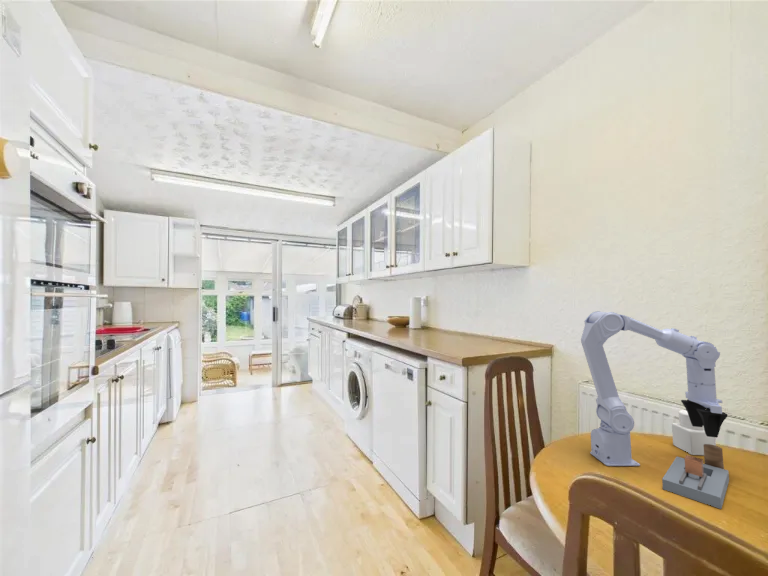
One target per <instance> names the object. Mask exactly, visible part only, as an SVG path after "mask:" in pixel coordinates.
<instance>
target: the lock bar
mask: <svg viewBox="0 0 768 576" xmlns="http://www.w3.org/2000/svg"><path fill="white" fill-rule="evenodd" d="M684 459H685V472H687V473H688V477H690V478H694V479H697V480H700V478H701V477H702V476H703V474H704V467H703V464H704V460H703V459H704V458H699V457H696V456H693V455H690V454H686V455H685V456H684Z"/></svg>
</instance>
